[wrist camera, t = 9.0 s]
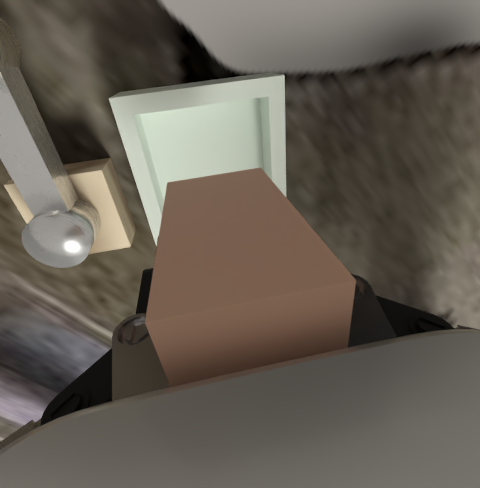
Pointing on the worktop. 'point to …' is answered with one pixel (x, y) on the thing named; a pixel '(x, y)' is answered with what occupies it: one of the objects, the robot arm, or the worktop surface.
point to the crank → (40, 171)
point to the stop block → (241, 280)
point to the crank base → (94, 202)
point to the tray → (202, 133)
